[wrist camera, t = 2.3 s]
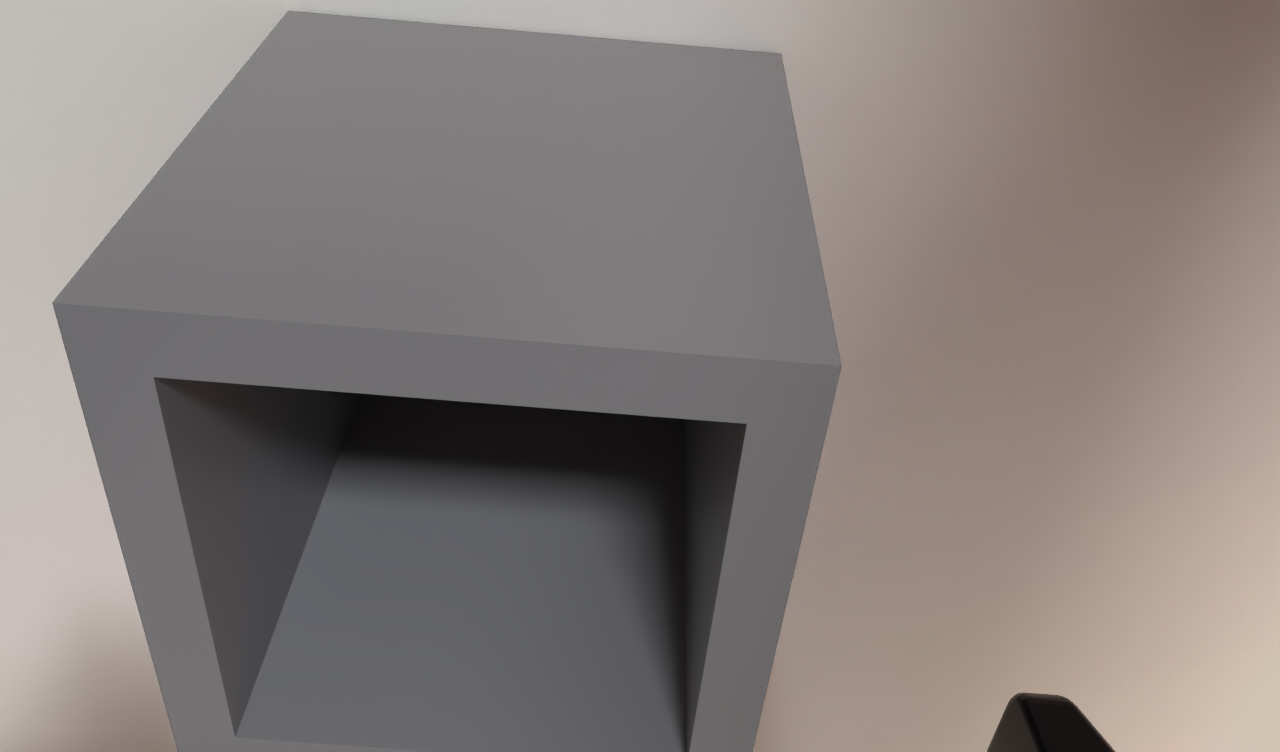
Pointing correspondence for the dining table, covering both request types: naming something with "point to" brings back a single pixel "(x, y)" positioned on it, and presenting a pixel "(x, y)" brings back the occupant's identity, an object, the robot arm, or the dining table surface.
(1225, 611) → the dining table surface
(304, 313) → the duct collar
